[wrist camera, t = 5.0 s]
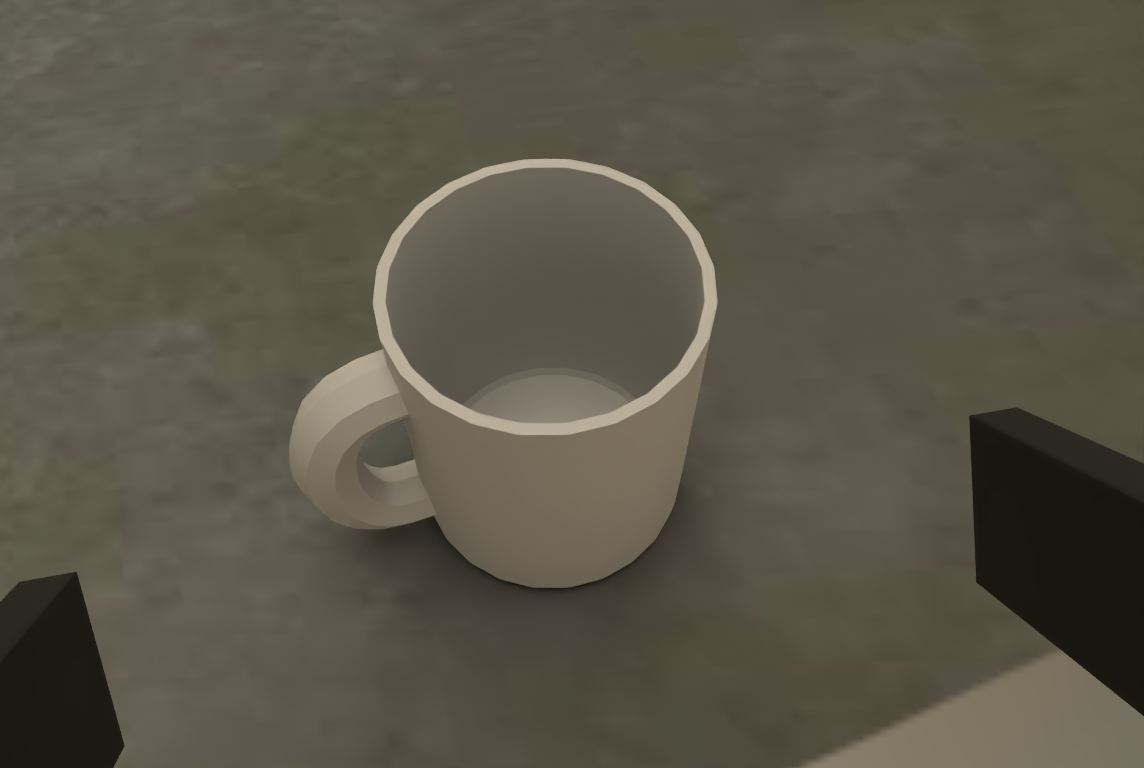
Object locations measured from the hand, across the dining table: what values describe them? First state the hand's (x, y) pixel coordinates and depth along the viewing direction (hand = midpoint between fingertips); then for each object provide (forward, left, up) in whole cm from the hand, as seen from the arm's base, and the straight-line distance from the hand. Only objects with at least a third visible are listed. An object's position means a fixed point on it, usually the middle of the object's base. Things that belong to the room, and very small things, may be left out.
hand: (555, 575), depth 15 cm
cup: (+7, +1, -12) cm, 14 cm away
